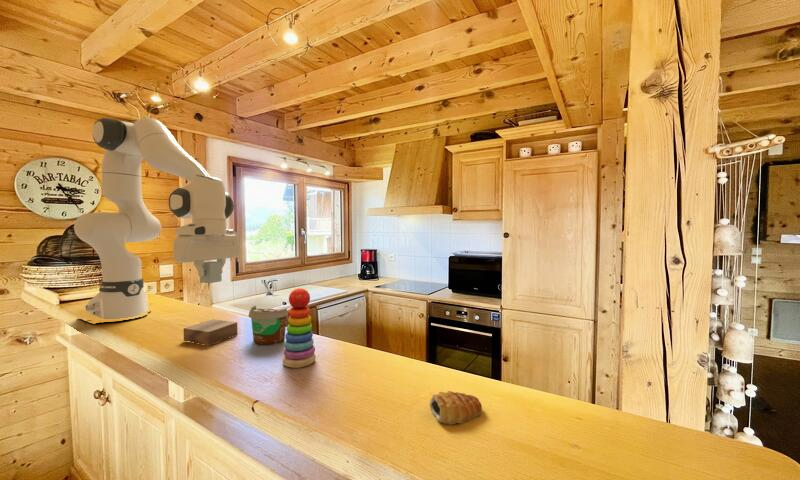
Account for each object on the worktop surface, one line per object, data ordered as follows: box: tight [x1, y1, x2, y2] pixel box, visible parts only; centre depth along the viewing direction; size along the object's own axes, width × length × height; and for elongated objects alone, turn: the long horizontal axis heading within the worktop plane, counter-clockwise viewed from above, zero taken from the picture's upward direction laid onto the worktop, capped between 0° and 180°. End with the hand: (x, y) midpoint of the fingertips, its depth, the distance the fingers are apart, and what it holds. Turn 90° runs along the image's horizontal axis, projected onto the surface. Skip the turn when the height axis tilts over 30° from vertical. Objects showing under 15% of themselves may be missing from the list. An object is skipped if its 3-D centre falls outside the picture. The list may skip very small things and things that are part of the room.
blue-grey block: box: [199, 260, 223, 284], centre depth 97 cm, size 4×4×6 cm
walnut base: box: [183, 318, 238, 347], centre depth 97 cm, size 10×10×4 cm
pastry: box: [429, 390, 483, 426], centre depth 58 cm, size 9×7×4 cm
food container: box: [248, 305, 289, 347], centre depth 93 cm, size 12×6×10 cm, turn 73°
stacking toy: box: [282, 287, 317, 369], centre depth 80 cm, size 8×8×19 cm
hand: (210, 274), depth 97 cm, fingers closed on blue-grey block, 4 cm apart
